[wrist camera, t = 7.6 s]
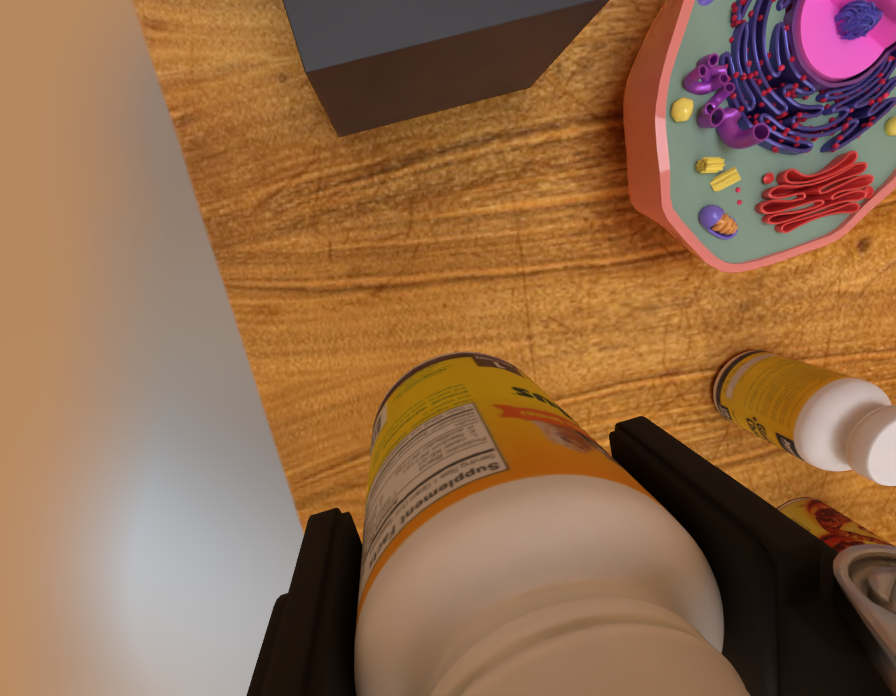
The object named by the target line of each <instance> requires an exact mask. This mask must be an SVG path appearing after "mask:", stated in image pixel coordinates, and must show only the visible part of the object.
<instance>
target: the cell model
mask: <svg viewBox="0 0 896 696" xmlns="http://www.w3.org/2000/svg"><path fill="white" fill-rule="evenodd" d="M623 122H624V134H625V148H626V162H627V176H628V192H629V199H630V202H631V205H632V206H633V207H634V208H635V209H636V210H637V211H638V212H640V213H641V214H643V215H645V216H646V217H648V218H650V219H652V220H653V221H655V222H656V223H658V224H659V225H661V226H662V227H663V228H664V229H665V230H667V231H668V232H669V233H670V234H671V235H672V236H673V237H674V238H675V239H676V240H677V241H678V242H679V243H680V244H681V245H682V246H683V247H684V248H685V249H687V250H688V251H689V252H691V253H692V254H693V255H695V256H697V257H698V258H700V259H701V260H703V261H704V262H706V263H708V264H709V265H711V266H713V267H715V268H716V269H718V270H720V271H721V272H733V273H737V272H742V271H747V270H753V269H756V268H760V267H763V266H767V265H770V264H773V263H776V262H779V261H782V260H785V259H788V258H791V257H794V256H797V255H800V254H803V253H806V252H809V251H811V250H814V249H817V248H820V247H823V246H826V245H828V244H830V243H832V242H834V241H836V240H838V239H839V238H841V237H842V236H843V235H845V234H846V233H847V232H849V231H850V230H851V229H852V228H853V227H854V226H855V225H856V224H857V223H858V222H859V221H860V220H861V219H862V218H863V217H864V216H865V215H866V214H868V213H869V212H870V211H871V210H872V209H873V208H874V207H875V206H876V205H877V204H879V203H880V202H881V201H882V200H883V199H884V198H885V197H886V196H887V195H889V194H890V193H891V192H892V191H893V190H894V189H895V188H896V0H666V1H665V2H664V4H663V6H662V7H661V9H660V11H659V12H658V14H657V16H656V17H655V19H654V21H653V23H652V25H651V27H650V29H649V31H648V32H647V34H646V37H645V39H644V41H643V43H642V46H641V48H640V50H639V52H638V54H637V57H636V59H635V61H634V63H633V66H632V68H631V70H630V73H629V76H628V79H627V82H626V86H625V90H624V96H623Z"/></svg>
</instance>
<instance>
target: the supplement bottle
mask: <svg viewBox="0 0 896 696" xmlns="http://www.w3.org/2000/svg"><path fill="white" fill-rule="evenodd" d="M723 641H724V615H723V605H722V600H721V595H720V591H719V588H718V585H717V582H716V579H715V576H714V574H713V572H712V570H711V567H710V565H709V563H708V561H707V559H706V557H705V556H704V554H703V552H702V550H701V549H700V548H699V546H698V545H697V543H696V542H695V541H694V539H693V538H692V537H691V536H690V534H689V533H688V532H687V531H686V530H685V529H684V528H683V527H682V526H681V525H680V524H679V522H678V521H677V520H676V519H675V518H674V517H673V516H672V515H671V514H670V513H669V512H668V511H667V510H666V509H665V508H664V507H663V506H662V505H661V504H660V503H659V502H658V501H657V500H656V499H655V498H654V497H653V496H652V495H651V494H650V493H649V492H648V491H646V490H645V489H644V488H643V487H642V486H641V485H640V484H639V483H638V482H637V481H636V480H635V479H634V478H633V477H632V476H631V475H630V474H629V473H628V472H627V471H626V470H625V469H624V468H623V467H621V466H620V465H619V464H618V463H617V462H616V461H615V460H614V459H613V458H612V457H611V456H610V455H609V454H608V453H607V452H606V451H605V450H604V449H603V448H602V447H601V446H600V445H599V444H598V443H597V442H596V441H595V440H594V439H592V438H591V437H590V436H589V435H588V434H587V433H586V432H585V431H584V430H583V429H582V428H581V427H580V426H579V425H578V424H577V423H576V422H575V421H574V420H573V419H572V418H571V417H570V416H569V415H568V414H566V413H565V412H564V411H563V410H562V409H561V408H560V407H559V406H558V405H557V404H556V403H555V402H554V401H553V400H552V399H551V398H550V397H549V396H548V395H547V394H546V393H545V392H544V391H542V390H541V389H540V388H539V387H538V386H537V385H536V384H535V383H534V382H533V381H532V380H531V379H530V378H529V377H528V376H526V375H525V374H524V373H523V372H522V371H521V370H519V369H518V368H516V367H515V366H513V365H512V364H510V363H508V362H506V361H504V360H502V359H500V358H497V357H494V356H491V355H487V354H483V353H477V352H454V353H448V354H443V355H440V356H437V357H433V358H431V359H429V360H426V361H424V362H422V363H420V364H418V365H416V366H415V367H413V368H412V369H411V370H409V371H408V372H406V373H405V374H404V375H403V376H402V377H401V378H400V379H399V380H398V381H397V382H396V383H395V384H394V385H393V386H392V387H391V389H390V390H389V391H388V393H387V394H386V396H385V397H384V399H383V401H382V403H381V405H380V407H379V409H378V412H377V415H376V418H375V421H374V426H373V431H372V438H371V451H370V461H369V472H368V483H367V495H366V507H365V520H364V530H363V545H362V557H361V570H360V582H359V595H358V609H357V620H356V632H355V643H354V681H355V691H356V696H750V694H749V693H748V691H747V690H746V688H745V685H744V683H743V682H742V680H741V678H740V676H739V675H738V673H737V672H736V670H735V669H734V667H733V666H732V665H731V663H730V662H729V661H728V660H727V659H726V658H725V657H724V656H723V655H722V648H723Z"/></svg>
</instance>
